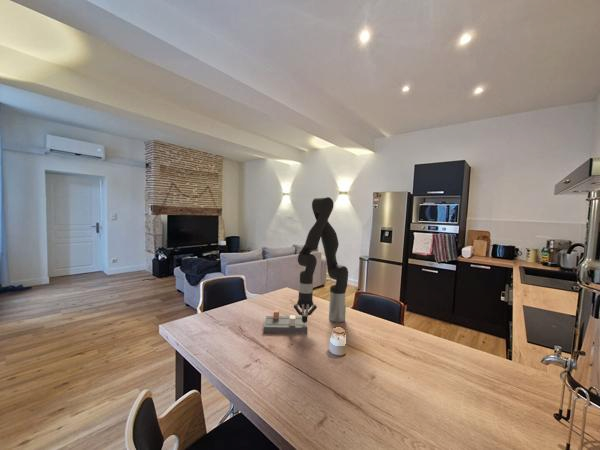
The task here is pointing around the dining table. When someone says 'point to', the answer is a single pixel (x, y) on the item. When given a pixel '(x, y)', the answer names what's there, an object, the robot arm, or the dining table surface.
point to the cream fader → (292, 320)
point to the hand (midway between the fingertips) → (304, 322)
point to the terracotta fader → (276, 314)
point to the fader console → (284, 325)
